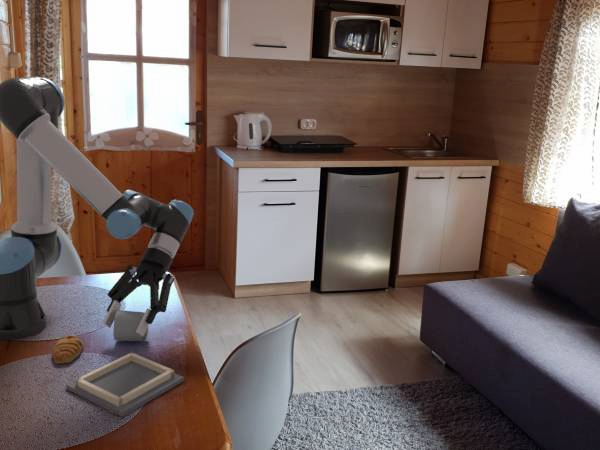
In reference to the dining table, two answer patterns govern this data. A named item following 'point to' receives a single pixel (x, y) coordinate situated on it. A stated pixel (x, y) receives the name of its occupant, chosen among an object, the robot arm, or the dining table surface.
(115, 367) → the tray
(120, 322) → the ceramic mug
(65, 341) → the pastry
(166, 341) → the dining table surface
